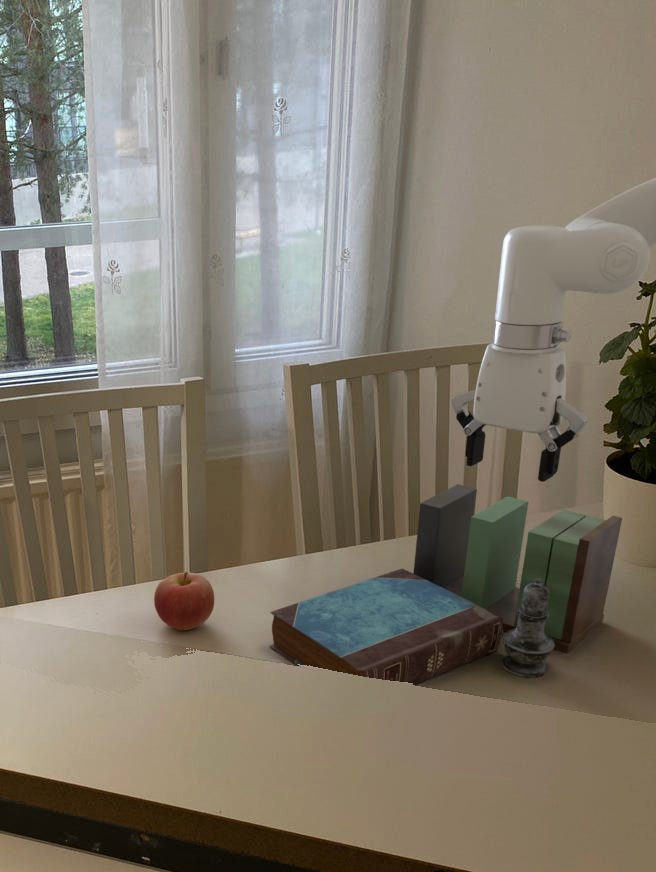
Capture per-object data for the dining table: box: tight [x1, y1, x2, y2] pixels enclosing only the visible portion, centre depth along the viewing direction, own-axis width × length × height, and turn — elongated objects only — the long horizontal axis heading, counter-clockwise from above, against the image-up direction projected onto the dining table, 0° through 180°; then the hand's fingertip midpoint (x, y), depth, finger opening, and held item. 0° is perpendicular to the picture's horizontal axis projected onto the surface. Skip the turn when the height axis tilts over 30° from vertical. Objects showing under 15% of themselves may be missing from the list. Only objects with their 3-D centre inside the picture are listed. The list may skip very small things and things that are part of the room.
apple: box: [153, 571, 215, 631], centre depth 121 cm, size 8×8×8 cm
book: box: [269, 568, 503, 685], centre depth 114 cm, size 23×18×5 cm
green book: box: [461, 496, 529, 610], centre depth 122 cm, size 10×3×13 cm, turn 136°
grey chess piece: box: [500, 577, 554, 679], centre depth 108 cm, size 6×6×12 cm
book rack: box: [412, 483, 623, 654], centre depth 121 cm, size 11×24×15 cm, turn 46°
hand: (509, 470), depth 117 cm, fingers open, 9 cm apart
